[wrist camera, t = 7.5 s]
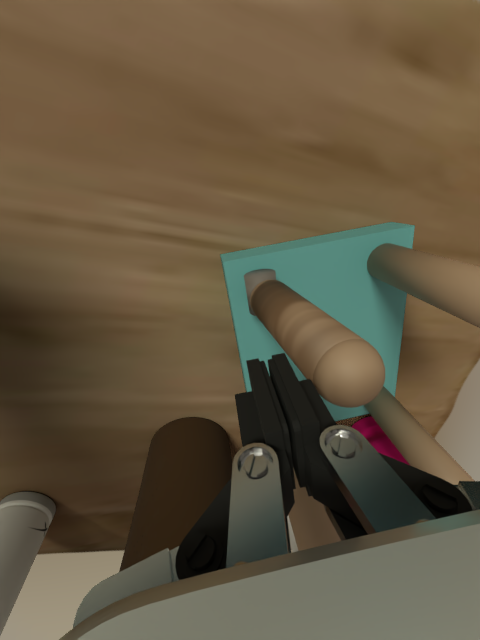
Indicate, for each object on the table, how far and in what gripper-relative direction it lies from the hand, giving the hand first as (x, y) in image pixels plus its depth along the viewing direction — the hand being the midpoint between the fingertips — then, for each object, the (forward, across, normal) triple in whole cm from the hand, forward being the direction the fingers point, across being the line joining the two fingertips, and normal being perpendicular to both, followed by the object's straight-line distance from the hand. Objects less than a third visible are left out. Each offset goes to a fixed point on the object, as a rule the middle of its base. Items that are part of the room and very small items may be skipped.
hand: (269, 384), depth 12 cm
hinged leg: (+12, -2, 0) cm, 12 cm away
